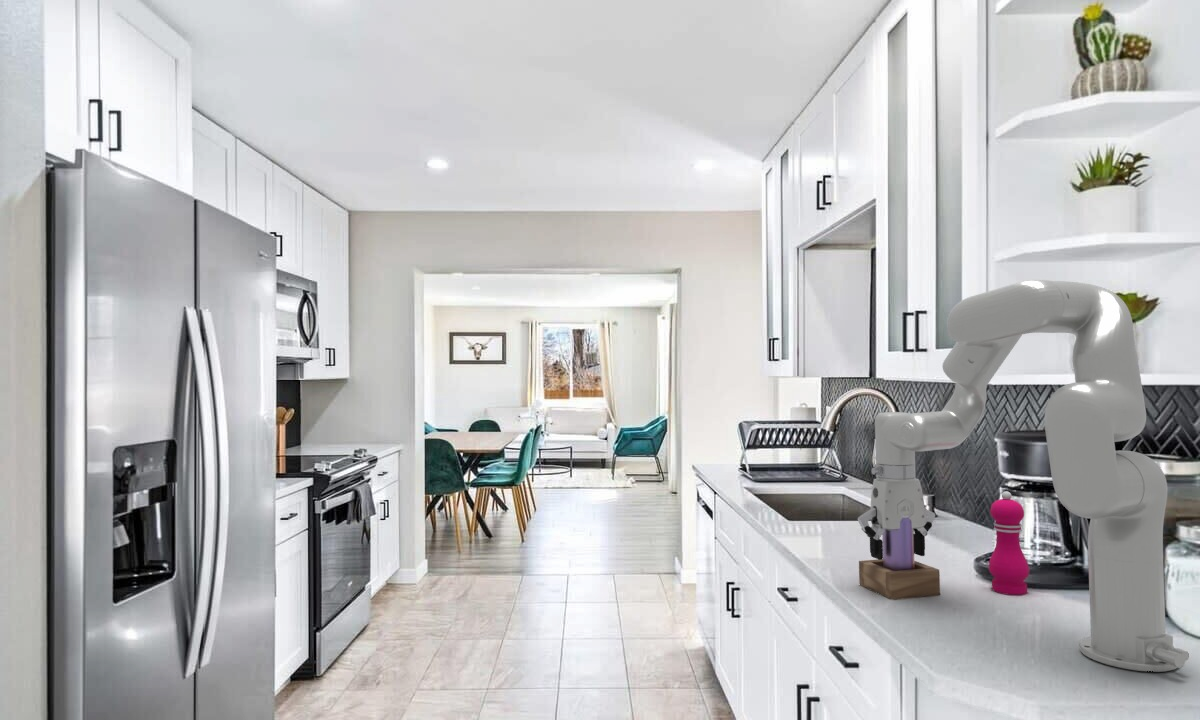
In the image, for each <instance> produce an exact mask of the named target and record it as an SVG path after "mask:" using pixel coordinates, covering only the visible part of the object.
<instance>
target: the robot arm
mask: <svg viewBox="0 0 1200 720" xmlns="http://www.w3.org/2000/svg"><path fill="white" fill-rule="evenodd" d="M946 328H947V329H946V331H947V332H948V335H949V337H950V338H951V340H953V342H955V344H954V345H953V347H952V349H950V351H949V353H948V354H947V356H946V357H945V359H944V360H943V363H942V370H943V373H944V374H945V375H946V377H947V378H948V379H949V380H950V381H952V382H953V383H954V384H955V387H954V389H953V393H952V394H951V397H950V399H948V401H947V402H946V404H945V406H944V407H943V408H942V410H941V411H925V412H912V413H909V412H903V411H902V412H900V411H887V412H886V411H885V412H880V413H877V414H876V416H875V418H874V431H875V433H874V434H875V435H874V436H875V437H874V438H875V466H874V467H872V468H871V474H872V475H875V477H876V478H874V479H873V483H872V487H871V493H870V494H871V495H870V496H871V498H870V509H869V510H867V511H865V512H864V513H861V515H860V516H858V517H857V521H858V523H859V526H860V527H861V530H862V531H863V532H864V533H865V534H866V536H867V537H868V538H869V551H870V557H872V558H873V559H875V560H877V559H879V560H882V559H883V539H881V537H882V534H883V532H884V531H885V530H889V531H893V530H898V529H900V521H901V520H902V519H903V518H904V517H903V518H901V517H902V516H906V515H908V516H909V519H910V520H911V523H912V529H914V555H916V556H917V555H918V556H920V557H925V556H926V553H925V551H926V537H927V536H928V534H929V533H928V532H929V531H930V530H931V528H932V526H933V523H934V520H935V517H936V513H935V512H933V511H931V510H930V509H928V508H925V500H924V499H925V498H924V493H923V488H922V484H921V481H920V479H919V478H916V452H930V451H937V450H948V449H949V450H950V449H953V448H956V447H958V446H959V445H961V444H962V443H963V442H964V441H965V440H966V439H967V438H968V437H969V436H970V434H971V433H972V432H973V431H974V429H975V428H976V426H977V424H979V422H980V420H981V419H982V418H983V415H984V412H985V407H986V403H987V386H988V385H989V383H990V382H991V380H992V379H993V378H994V376H995V375H996V373H997V372H998V370H999V369H1000V367H1001V366H1002V364H1003V363H1004V362H1005V360H1006V358H1007V357H1008V356H1009V354H1010V353H1011V352H1012V350H1013V349H1014V348H1015V346H1016V345H1017V343H1019V342H1018V341H1019V340H1020V339H1021V337H1022V336H1023V335H1026V334H1034V333H1038V334H1039V333H1041V334H1043V333H1044V334H1047V333H1049V334H1058V333H1060V334H1061V333H1062V334H1064V333H1065V334H1072V335H1074V336H1075V342H1074V345H1073V349H1072V358H1071V359H1072V366H1073V371H1074V381H1075V382H1071V383H1068V384H1065V385H1063V386H1060V387H1059V388H1058V389H1056V390H1055V391H1054V392H1053V394H1052V395H1051V396H1050V397H1049V399H1048V401H1047V403H1046V406H1045V410H1044V418H1043V419H1044V421H1043V422H1044V430H1045V438H1046V444H1047V445H1046V446H1047V451H1048V459H1049V465H1050V473H1051V480H1052V485H1053V488H1054V492H1055V494H1056V495H1055V496H1057V499H1058V500H1059V501H1060V503H1061V504H1062V506H1063V507H1065V509H1066V510H1067V511H1068V512H1070V513H1072V514H1073V515H1075V516H1077V517H1079V518H1080V517H1081V518H1085V519H1089V520H1090V521H1089V525H1088V526H1089V527H1088V533H1087V536H1088V537H1087V556H1088V557H1087V558H1088V561H1087V562H1088V588H1089V618H1090V619H1089V620H1090V622H1089V623H1090V636H1088V637H1084V638H1082V639H1081V640H1080V641H1079V651H1080V652H1081V653H1082V654H1083V655H1084V656H1086V657H1088V658H1089V659H1092V660H1094V661H1096V662H1098V663H1101V664H1104V665H1108V666H1110V667H1111V666H1112V667H1115V668H1119V669H1123V670H1124V669H1125V670H1131V671H1137V672H1138V671H1139V672H1147V671H1148V672H1149V671H1151V672H1152V671H1153V672H1152V673H1160V672H1163V673H1164V672H1170V671H1171V672H1172V671H1174V670H1176V669H1178V668H1182V667H1184V666H1185V663H1186V661H1188V660H1189V659H1190V653H1189V652H1188V651H1186V650H1183V649H1180V648H1176V647H1174V644H1173V643H1174V640H1173V639H1174V637H1173V635H1170V634H1167V632H1166V609H1165V608H1166V607H1165V606H1166V605H1165V582H1164V581H1165V580H1164V578H1165V577H1164V576H1165V575H1164V543H1163V542H1164V540H1163V539H1164V535H1163V534H1164V521H1165V514H1166V506H1167V500H1168V482H1167V478H1166V476H1165V473H1164V470H1163V469H1162V468H1161V467H1160V466H1159V464H1158V463H1157V462H1156V461H1155V460H1153V459H1152V458H1151V457H1150V456H1147V455H1145V454H1143V453H1141V452H1138V451H1133V450H1132V451H1131V450H1120V449H1119V450H1116V445H1115V443H1116V442H1123V441H1128V440H1131V439H1133V438H1135V437H1136V436H1138V435H1140V433H1142V432H1143V430H1144V429H1145V427H1146V422H1147V411H1146V409H1147V408H1146V404H1145V397H1144V391H1143V385H1142V384H1143V383H1142V380H1141V379H1142V378H1141V372H1140V366H1139V361H1138V355H1137V350H1136V341H1135V334H1134V333H1135V332H1134V323H1133V318H1132V314H1131V312H1130V310H1129V308H1128V306H1127V304H1126V303H1125V302H1124V300H1123V299H1122V298H1121V297H1120V296H1119V295H1118V294H1116V293H1115V292H1113V291H1111V290H1109V289H1107V288H1106V287H1102V286H1098V285H1094V284H1090V283H1085V282H1077V281H1065V280H1047V279H1046V280H1045V279H1030V280H1023V281H1018V282H1015V283H1012V284H1009V285H1005V286H1002V287H999V288H996V289H992V290H989V291H985V292H982V293H978V294H975V295H972V296H969V297H966V298H964V299H961V300H960V301H959V302H957V303H955V305H954V306H953V308H951V310H950V312H949V313H948V316H947V319H946ZM869 522H870V523H871V526H870V524H869ZM1151 672H1149V673H1151Z"/></svg>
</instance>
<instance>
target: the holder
mask: <svg viewBox="0 0 1200 720" xmlns="http://www.w3.org/2000/svg"><path fill="white" fill-rule="evenodd" d="M914 566H915V569H913V570H901V571H891V570H889V569H886V568H884V567H883V559H882V560H879V559H869V560H858V578H859V579H858V582H859V584H860V585H859V584H858V585H859V586H861V585H862V586H861V587H863V586H864V587H863V588H865V587H866V588H865V589H867V588H868V589H867V590H869V589H871V590H873V591H872V592H874V591H875V592H874V593H876V592H877V593H876V594H878V593H879V595H880V594H881V595H880V596H882V595H883V597H884V596H885V597H884V598H887V599H889V600H891V599H894V600H902V599H901V598H904V599H912V598H913V597H914V598H922V597H923V598H924V597H934V596H941V585H940V583H941V579H940V569H939V568H935V567H934V566H930V565H928V564H925V563H922V562H920V561H916V560H914ZM871 590H870V591H871Z"/></svg>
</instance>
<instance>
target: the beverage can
mask: <svg viewBox="0 0 1200 720" xmlns="http://www.w3.org/2000/svg"><path fill="white" fill-rule="evenodd" d="M903 517H904V518H903ZM901 518H903V519H902V520H901V521H900V529H898V530H893V531H889V530H885V531H884V532H883V534H882V535H881V537H882V539H881V540H882V542H883V567H884V568H886V569H889V570H891V571H901V570H913V569H915V566H914V561H915V554H914V534H915V533H914V529H912V523H911V520H910V519H909V516H908V515H906V516H902V517H901Z"/></svg>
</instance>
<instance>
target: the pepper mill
mask: <svg viewBox="0 0 1200 720" xmlns="http://www.w3.org/2000/svg"><path fill="white" fill-rule="evenodd" d="M1012 497H1013V496H1012V493H1011V492H1009V491H1003V492H1002V493H1001V499H997V500H995V501H994V502H993V503H992V504H991V506H990V511H989V512H990V516H991V517H992V518H993V520H994V521H995V522H993V530H994V531H995V532H996V543H995V547H994V550H993V552H992V554H991V556H990V557H989V562H988V571H989V573H990V575H992V577H993V579H992V580H991V589H992V590H993V592H996V593H999V594H1003V595H1007V596H1008V595H1009V596H1023V595H1026V594H1027V593H1028V583H1026V582H1025V580H1026V579H1027V578H1028V576H1029V575H1030V566H1029V564H1028V561H1027V559H1026V557H1025V555H1024V552H1023V550H1022V548H1021V545H1020V543H1021V542H1020V533H1021V532H1022V531H1023V529H1022V524H1021V523H1020V522H1021V521H1022V520H1023V519H1024V517H1025V510H1024V507H1023V506H1022V505H1021V503H1020V502H1018V501H1017V500H1014V499H1012Z"/></svg>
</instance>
